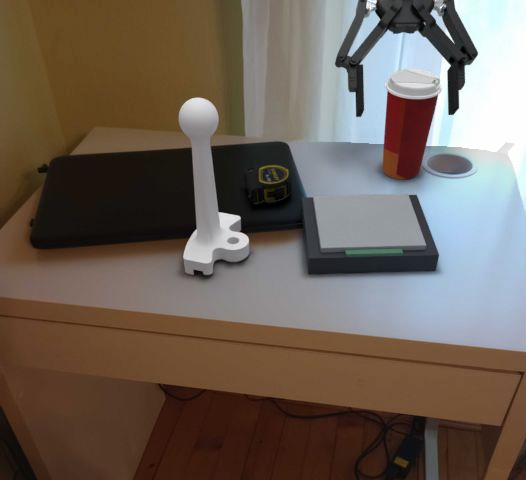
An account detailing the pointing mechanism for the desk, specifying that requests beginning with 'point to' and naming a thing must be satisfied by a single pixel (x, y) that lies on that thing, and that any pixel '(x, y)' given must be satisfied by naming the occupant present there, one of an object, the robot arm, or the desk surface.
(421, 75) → the paper cup
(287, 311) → the desk surface
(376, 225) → the scale
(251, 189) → the tape measure
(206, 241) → the joystick
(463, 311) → the desk surface
